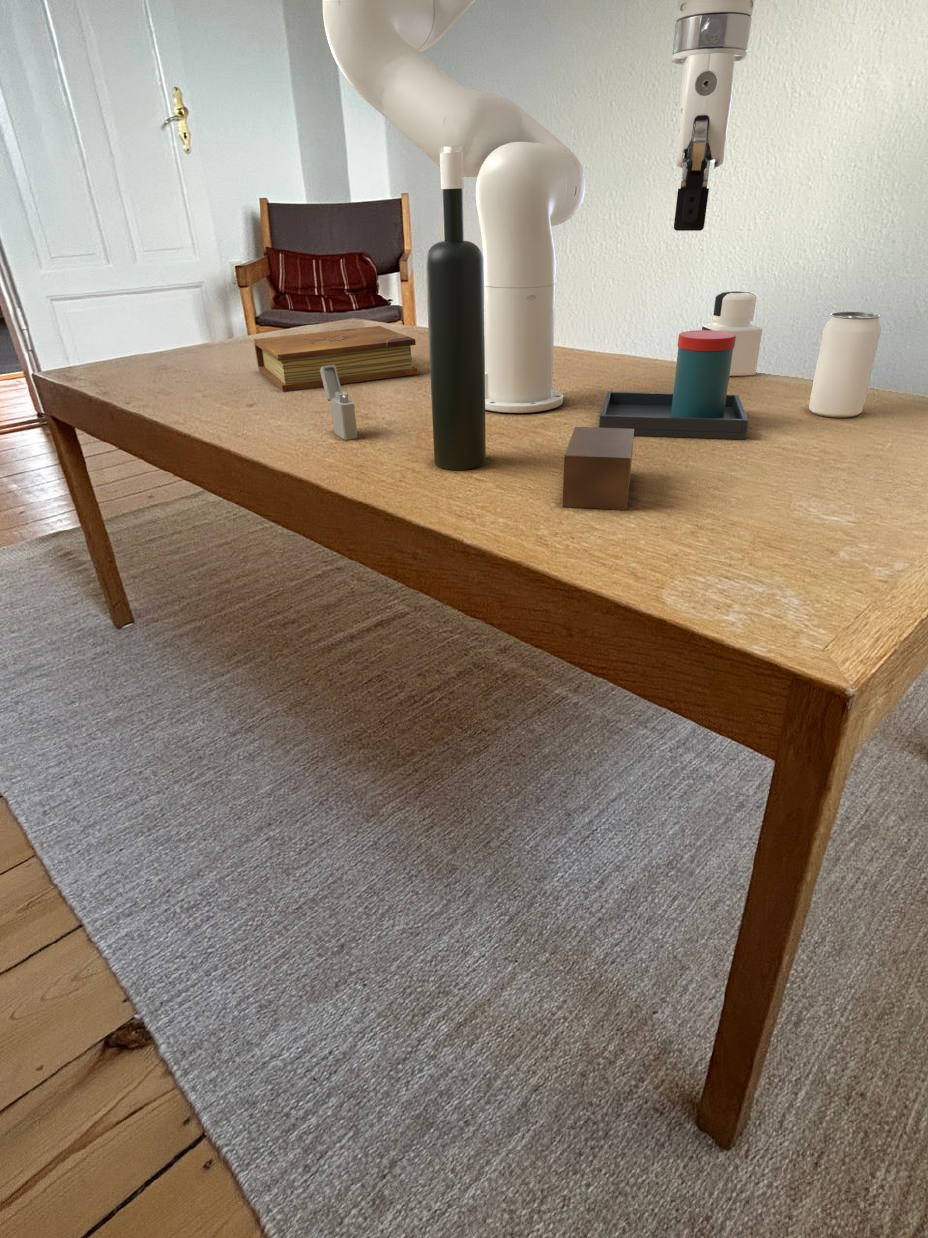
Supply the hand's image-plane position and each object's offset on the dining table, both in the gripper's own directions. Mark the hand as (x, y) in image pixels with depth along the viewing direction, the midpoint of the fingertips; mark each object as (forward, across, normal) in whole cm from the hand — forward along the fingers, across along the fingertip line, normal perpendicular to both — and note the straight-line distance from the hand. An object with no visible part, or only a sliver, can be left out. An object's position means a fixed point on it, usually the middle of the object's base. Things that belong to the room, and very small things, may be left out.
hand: (687, 228), depth 86 cm
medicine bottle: (+22, +32, -9) cm, 40 cm away
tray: (+22, -1, -1) cm, 22 cm away
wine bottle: (+23, -22, +22) cm, 38 cm away
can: (+22, +7, -22) cm, 32 cm away
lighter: (+23, -12, +40) cm, 48 cm away
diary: (+23, +24, +56) cm, 65 cm away
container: (+20, -2, 0) cm, 20 cm away
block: (+22, -28, +6) cm, 36 cm away
